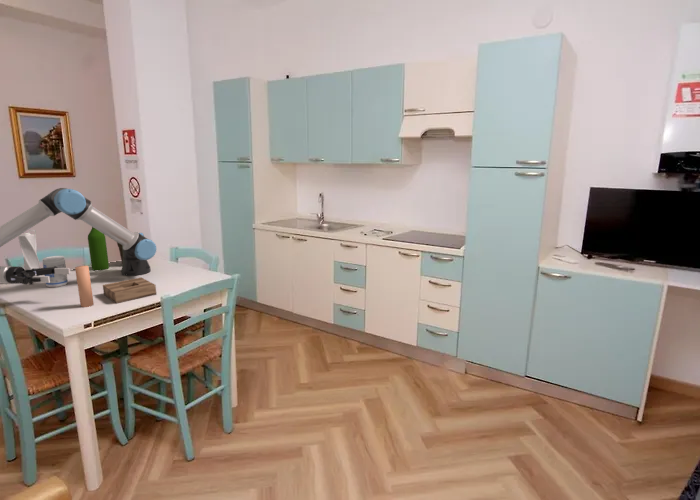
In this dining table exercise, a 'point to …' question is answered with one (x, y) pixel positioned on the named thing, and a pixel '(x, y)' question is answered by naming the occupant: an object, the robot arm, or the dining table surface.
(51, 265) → the supplement tub
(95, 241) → the wine bottle
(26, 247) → the skyscraper
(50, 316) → the dining table surface
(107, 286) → the socket block
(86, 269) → the peg
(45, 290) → the dining table surface
